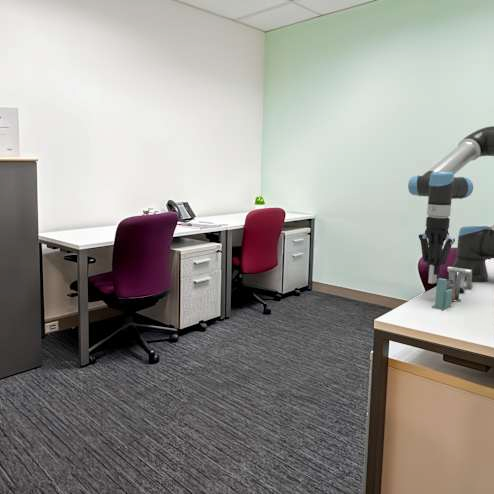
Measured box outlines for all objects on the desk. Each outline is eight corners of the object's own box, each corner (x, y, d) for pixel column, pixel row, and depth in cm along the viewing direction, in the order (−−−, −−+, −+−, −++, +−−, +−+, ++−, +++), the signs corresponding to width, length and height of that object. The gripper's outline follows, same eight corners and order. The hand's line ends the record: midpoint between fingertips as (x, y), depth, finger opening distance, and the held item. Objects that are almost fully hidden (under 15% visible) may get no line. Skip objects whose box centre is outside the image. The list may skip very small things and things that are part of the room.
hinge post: (451, 298, 172) (454, 270, 171) (462, 300, 170) (465, 272, 168) (447, 300, 170) (450, 271, 168) (458, 302, 167) (461, 273, 165)
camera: (454, 295, 179) (455, 284, 178) (435, 288, 188) (436, 278, 188) (465, 294, 180) (466, 283, 180) (446, 287, 190) (447, 277, 189)
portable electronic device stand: (472, 288, 190) (474, 267, 189) (467, 291, 184) (469, 270, 183) (450, 284, 195) (452, 264, 194) (444, 287, 189) (446, 267, 188)
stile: (439, 304, 164) (442, 275, 162) (450, 306, 161) (453, 278, 160) (431, 307, 159) (434, 278, 158) (443, 310, 157) (446, 280, 155)
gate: (450, 299, 169) (452, 282, 168) (454, 300, 167) (456, 283, 166) (437, 304, 161) (439, 287, 160) (442, 305, 160) (444, 288, 159)
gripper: (415, 215, 167) (410, 280, 171) (449, 219, 156) (442, 288, 160) (428, 214, 171) (422, 277, 175) (461, 218, 160) (455, 285, 165)
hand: (432, 282), depth 168 cm, fingers closed
